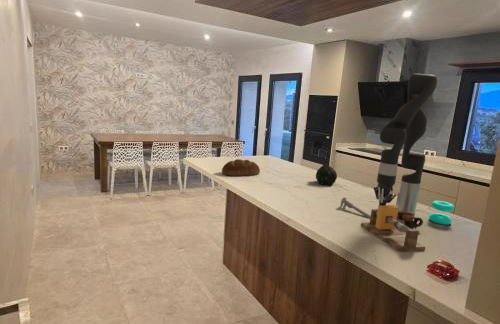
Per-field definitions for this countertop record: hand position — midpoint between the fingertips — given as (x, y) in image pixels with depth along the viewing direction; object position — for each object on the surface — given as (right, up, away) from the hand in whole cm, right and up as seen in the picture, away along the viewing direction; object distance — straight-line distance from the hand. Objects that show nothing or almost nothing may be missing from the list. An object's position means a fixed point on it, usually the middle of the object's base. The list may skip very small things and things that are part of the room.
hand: (381, 210), depth 143 cm
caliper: (-4, -5, +23) cm, 24 cm away
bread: (-66, +12, +92) cm, 114 cm away
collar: (+1, -7, -2) cm, 8 cm away
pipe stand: (+1, -11, -6) cm, 12 cm away
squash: (-6, +6, +81) cm, 82 cm away
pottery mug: (+16, -10, +7) cm, 20 cm away
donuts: (+38, -9, +19) cm, 43 cm away
